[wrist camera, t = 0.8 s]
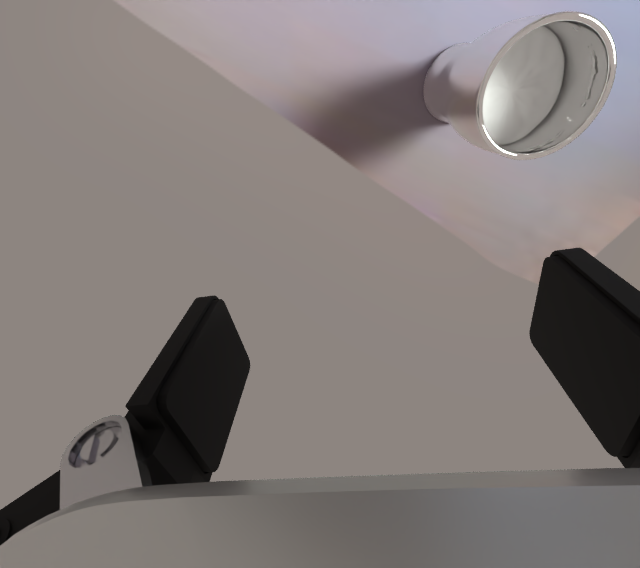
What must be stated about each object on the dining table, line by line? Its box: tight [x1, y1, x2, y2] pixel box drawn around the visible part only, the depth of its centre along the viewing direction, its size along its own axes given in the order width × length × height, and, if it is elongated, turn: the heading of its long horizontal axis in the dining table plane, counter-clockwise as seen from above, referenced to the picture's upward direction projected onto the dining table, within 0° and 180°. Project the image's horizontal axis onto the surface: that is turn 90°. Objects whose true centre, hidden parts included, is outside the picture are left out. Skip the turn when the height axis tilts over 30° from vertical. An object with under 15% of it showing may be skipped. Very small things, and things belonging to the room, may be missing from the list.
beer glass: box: [423, 11, 617, 160], centre depth 23 cm, size 7×7×15 cm
